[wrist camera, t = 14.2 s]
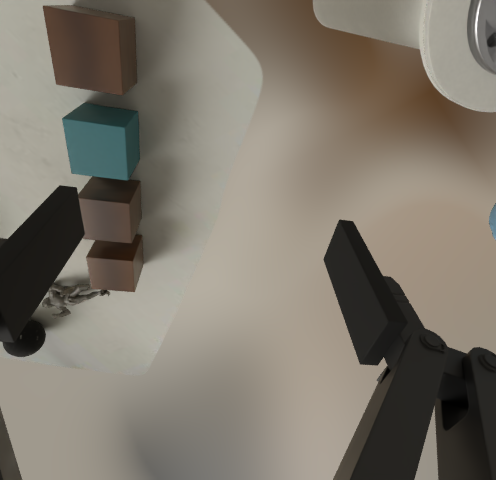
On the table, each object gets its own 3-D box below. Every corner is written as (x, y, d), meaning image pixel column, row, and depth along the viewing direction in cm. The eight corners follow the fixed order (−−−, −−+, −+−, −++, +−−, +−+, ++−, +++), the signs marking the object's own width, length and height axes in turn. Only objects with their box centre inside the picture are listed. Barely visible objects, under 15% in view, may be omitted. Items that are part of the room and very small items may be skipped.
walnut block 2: (140, 180, 42) (129, 203, 37) (141, 218, 45) (131, 243, 41) (91, 174, 41) (74, 197, 36) (97, 213, 45) (81, 238, 40)
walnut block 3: (142, 235, 47) (132, 261, 42) (143, 265, 51) (134, 292, 46) (99, 230, 46) (84, 256, 41) (103, 261, 50) (90, 288, 45)
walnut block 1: (135, 17, 31) (118, 20, 27) (137, 83, 35) (123, 95, 30) (69, 4, 30) (40, 4, 26) (78, 73, 34) (54, 84, 29)
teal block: (138, 111, 37) (125, 127, 32) (139, 159, 40) (128, 181, 35) (82, 102, 36) (60, 117, 31) (88, 152, 39) (69, 173, 34)
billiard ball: (25, 336, 60) (7, 365, 55) (8, 315, 56) (-13, 344, 51) (56, 332, 59) (42, 361, 55) (41, 311, 56) (24, 340, 51)
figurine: (111, 306, 51) (44, 329, 52) (119, 294, 54) (56, 316, 55) (92, 273, 49) (23, 298, 50) (102, 263, 52) (37, 286, 53)
